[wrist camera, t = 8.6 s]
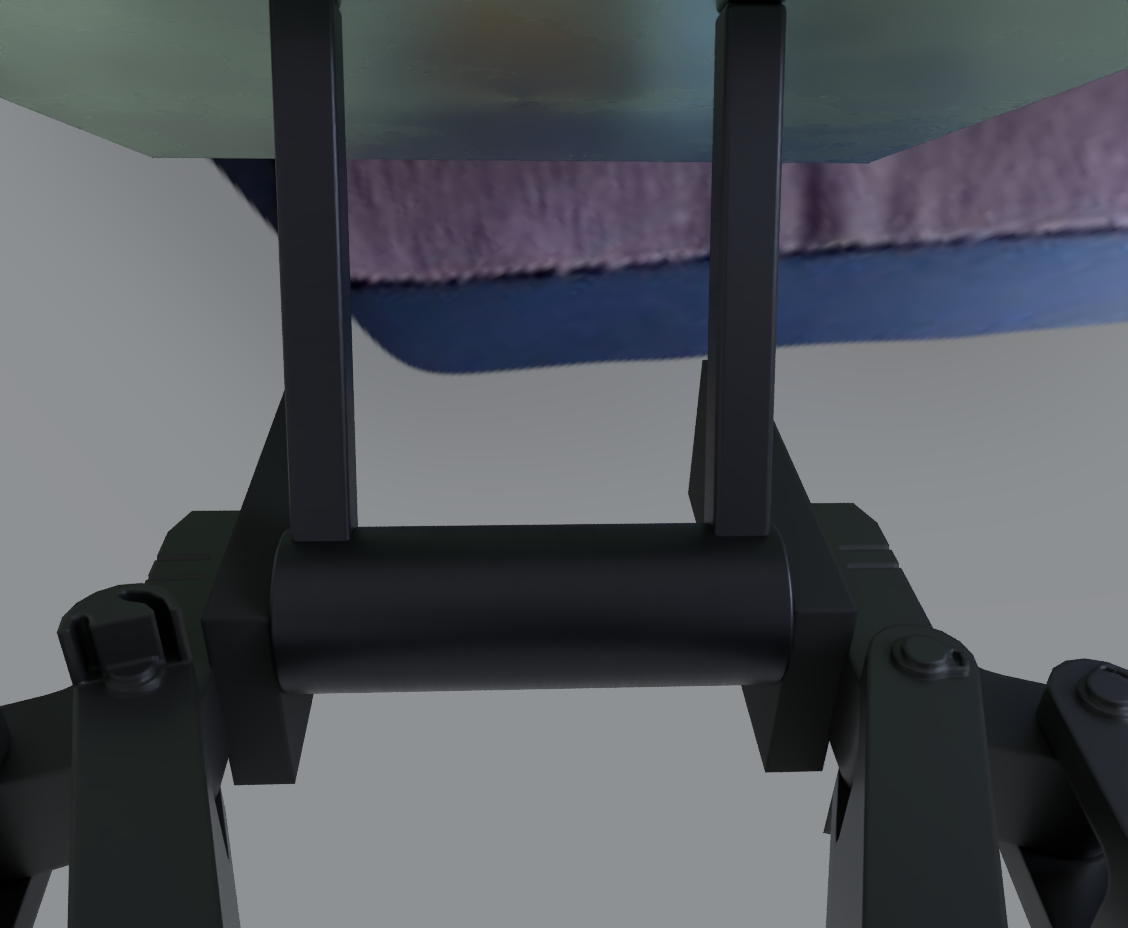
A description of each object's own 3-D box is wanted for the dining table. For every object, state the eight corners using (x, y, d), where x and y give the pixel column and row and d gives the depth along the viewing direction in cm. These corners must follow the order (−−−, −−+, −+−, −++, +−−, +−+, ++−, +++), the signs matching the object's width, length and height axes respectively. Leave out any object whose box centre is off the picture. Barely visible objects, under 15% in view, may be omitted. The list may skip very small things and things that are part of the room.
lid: (-510, -197, 9) (-363, 795, 10) (1480, -145, 10) (1363, 754, 11) (148, 123, 25) (169, 489, 26) (871, 130, 26) (855, 483, 27)
